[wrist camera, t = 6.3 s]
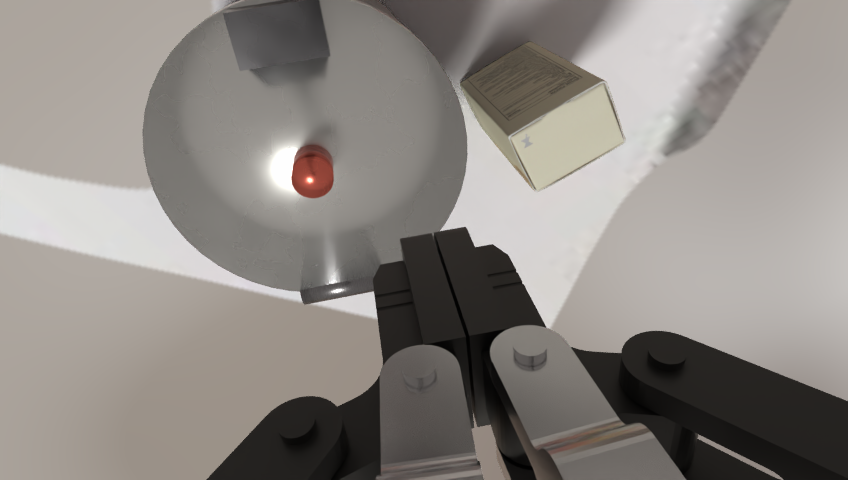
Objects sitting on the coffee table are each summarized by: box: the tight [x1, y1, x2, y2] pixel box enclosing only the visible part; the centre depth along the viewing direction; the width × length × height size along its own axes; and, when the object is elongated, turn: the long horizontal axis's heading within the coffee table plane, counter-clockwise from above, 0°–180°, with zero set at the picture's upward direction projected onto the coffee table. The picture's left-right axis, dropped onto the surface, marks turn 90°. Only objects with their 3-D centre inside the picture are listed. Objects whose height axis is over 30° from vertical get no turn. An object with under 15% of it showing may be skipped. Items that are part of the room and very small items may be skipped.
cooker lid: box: [143, 0, 467, 304], centre depth 28 cm, size 17×16×3 cm
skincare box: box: [460, 41, 625, 192], centre depth 37 cm, size 6×4×12 cm
